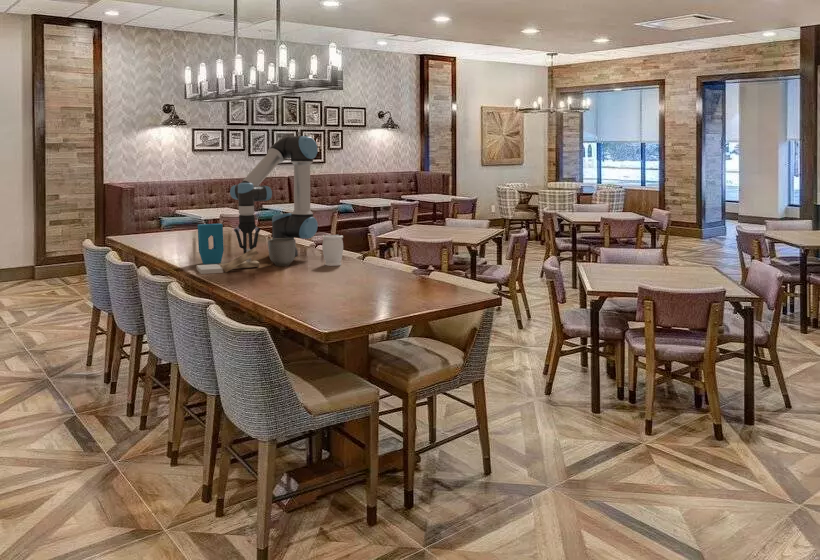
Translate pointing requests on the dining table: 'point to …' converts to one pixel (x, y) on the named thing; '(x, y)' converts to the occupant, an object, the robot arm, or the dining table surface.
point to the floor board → (209, 269)
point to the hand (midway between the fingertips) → (248, 261)
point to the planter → (282, 251)
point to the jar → (332, 249)
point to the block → (203, 234)
